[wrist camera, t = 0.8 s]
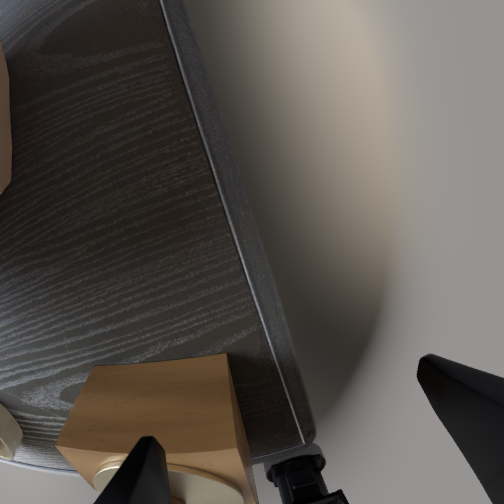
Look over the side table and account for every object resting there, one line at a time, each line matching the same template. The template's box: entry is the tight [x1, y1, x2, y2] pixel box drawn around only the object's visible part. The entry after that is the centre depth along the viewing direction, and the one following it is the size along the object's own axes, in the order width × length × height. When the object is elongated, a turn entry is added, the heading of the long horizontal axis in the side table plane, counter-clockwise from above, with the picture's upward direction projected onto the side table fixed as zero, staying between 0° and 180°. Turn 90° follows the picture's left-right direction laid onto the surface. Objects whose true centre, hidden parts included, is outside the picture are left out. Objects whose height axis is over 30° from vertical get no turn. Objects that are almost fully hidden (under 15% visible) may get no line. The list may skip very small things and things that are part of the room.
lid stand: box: [55, 353, 259, 504], centre depth 17 cm, size 11×11×9 cm
